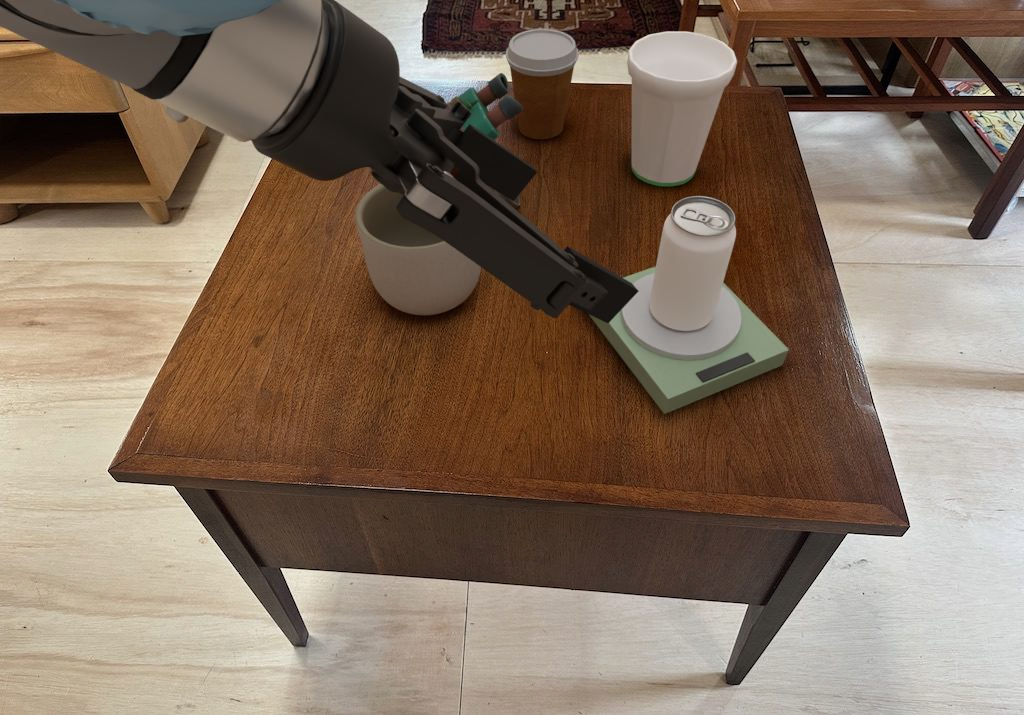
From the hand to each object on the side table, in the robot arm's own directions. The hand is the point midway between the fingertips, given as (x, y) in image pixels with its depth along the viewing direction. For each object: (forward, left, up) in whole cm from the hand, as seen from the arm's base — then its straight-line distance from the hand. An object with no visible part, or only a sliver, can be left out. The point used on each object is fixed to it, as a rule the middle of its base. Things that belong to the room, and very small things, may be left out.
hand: (567, 238), depth 47 cm
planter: (+25, +3, -24) cm, 35 cm away
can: (+7, -18, -21) cm, 29 cm away
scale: (+7, -18, -24) cm, 31 cm away
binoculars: (+38, -7, -24) cm, 45 cm away
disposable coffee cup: (+49, -23, -24) cm, 59 cm away
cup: (+33, -33, -24) cm, 52 cm away
